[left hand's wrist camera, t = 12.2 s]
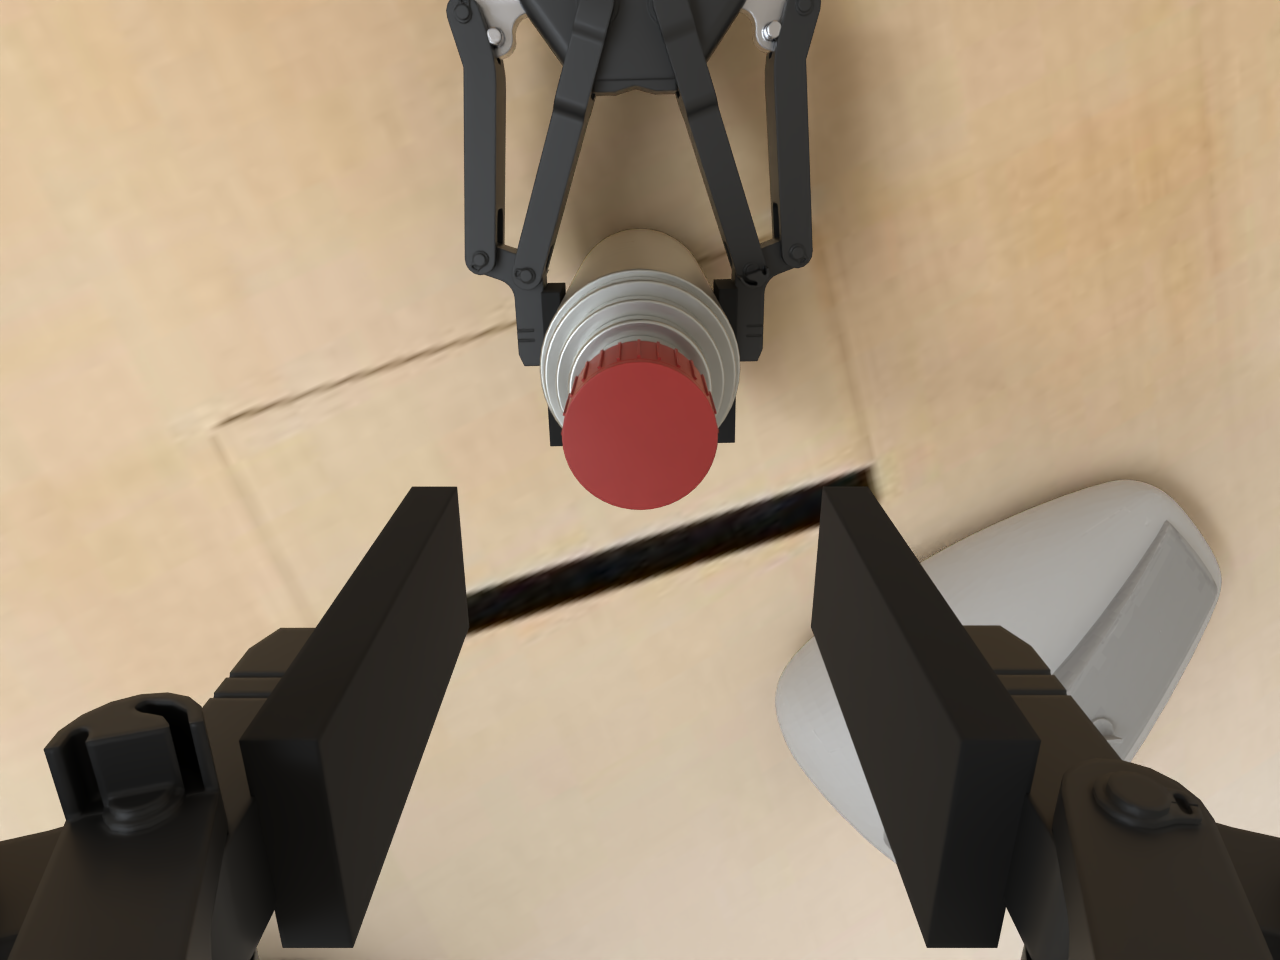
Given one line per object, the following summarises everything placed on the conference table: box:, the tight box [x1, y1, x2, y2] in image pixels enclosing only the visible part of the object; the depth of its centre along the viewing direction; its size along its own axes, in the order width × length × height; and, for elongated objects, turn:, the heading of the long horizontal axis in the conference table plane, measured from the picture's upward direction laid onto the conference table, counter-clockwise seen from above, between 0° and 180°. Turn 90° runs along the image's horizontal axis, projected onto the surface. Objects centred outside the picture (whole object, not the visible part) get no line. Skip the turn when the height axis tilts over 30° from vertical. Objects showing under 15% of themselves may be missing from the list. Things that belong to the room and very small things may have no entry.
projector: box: [775, 480, 1222, 864], centre depth 41 cm, size 22×23×15 cm
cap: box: [561, 339, 719, 510], centre depth 22 cm, size 4×4×2 cm
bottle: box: [540, 229, 740, 428], centre depth 31 cm, size 6×6×21 cm
